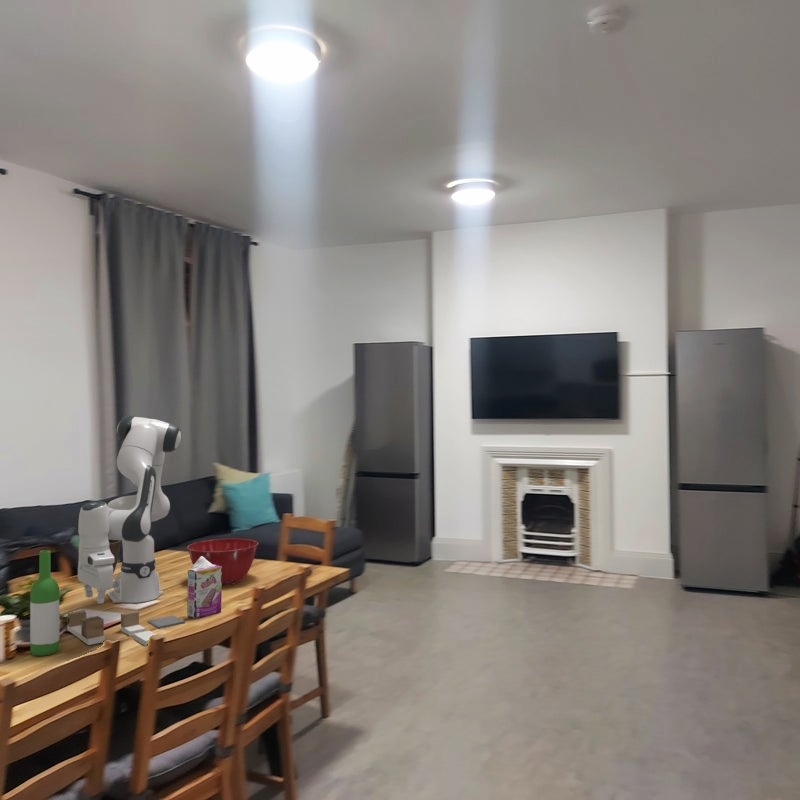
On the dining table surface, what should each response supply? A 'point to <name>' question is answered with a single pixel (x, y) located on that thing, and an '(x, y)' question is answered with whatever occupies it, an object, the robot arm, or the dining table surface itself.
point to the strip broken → (134, 627)
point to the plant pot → (114, 550)
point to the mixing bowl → (226, 556)
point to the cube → (92, 627)
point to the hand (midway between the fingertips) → (94, 600)
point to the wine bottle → (44, 610)
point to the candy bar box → (204, 591)
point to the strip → (76, 627)
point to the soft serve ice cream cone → (201, 563)
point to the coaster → (166, 621)
